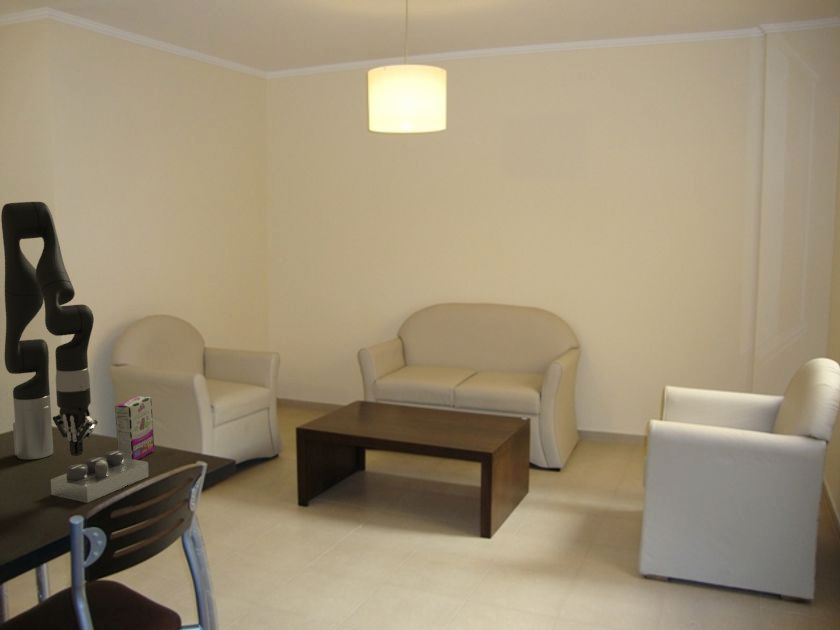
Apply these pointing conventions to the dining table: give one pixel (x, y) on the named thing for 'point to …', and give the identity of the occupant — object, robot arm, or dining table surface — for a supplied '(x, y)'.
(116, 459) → the knob
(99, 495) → the mount
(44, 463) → the dining table surface
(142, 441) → the candy bar box
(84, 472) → the knob
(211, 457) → the dining table surface
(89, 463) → the knob
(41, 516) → the dining table surface
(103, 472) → the pot post
